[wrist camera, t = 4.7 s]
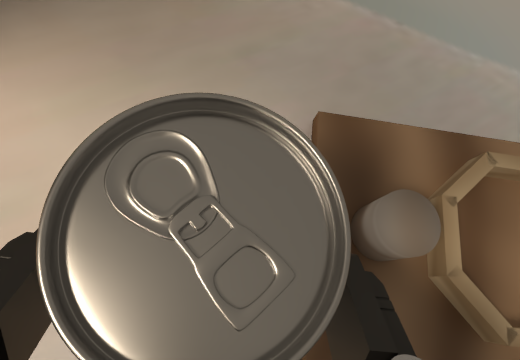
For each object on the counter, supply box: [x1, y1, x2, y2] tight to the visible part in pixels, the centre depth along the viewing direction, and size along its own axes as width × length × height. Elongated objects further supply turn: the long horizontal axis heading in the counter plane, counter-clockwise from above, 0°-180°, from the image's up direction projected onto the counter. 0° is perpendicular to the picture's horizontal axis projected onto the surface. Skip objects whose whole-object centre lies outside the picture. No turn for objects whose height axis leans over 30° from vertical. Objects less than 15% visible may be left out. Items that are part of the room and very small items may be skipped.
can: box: [36, 93, 351, 360], centre depth 12 cm, size 6×6×12 cm
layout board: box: [301, 111, 520, 360], centre depth 18 cm, size 16×13×4 cm
